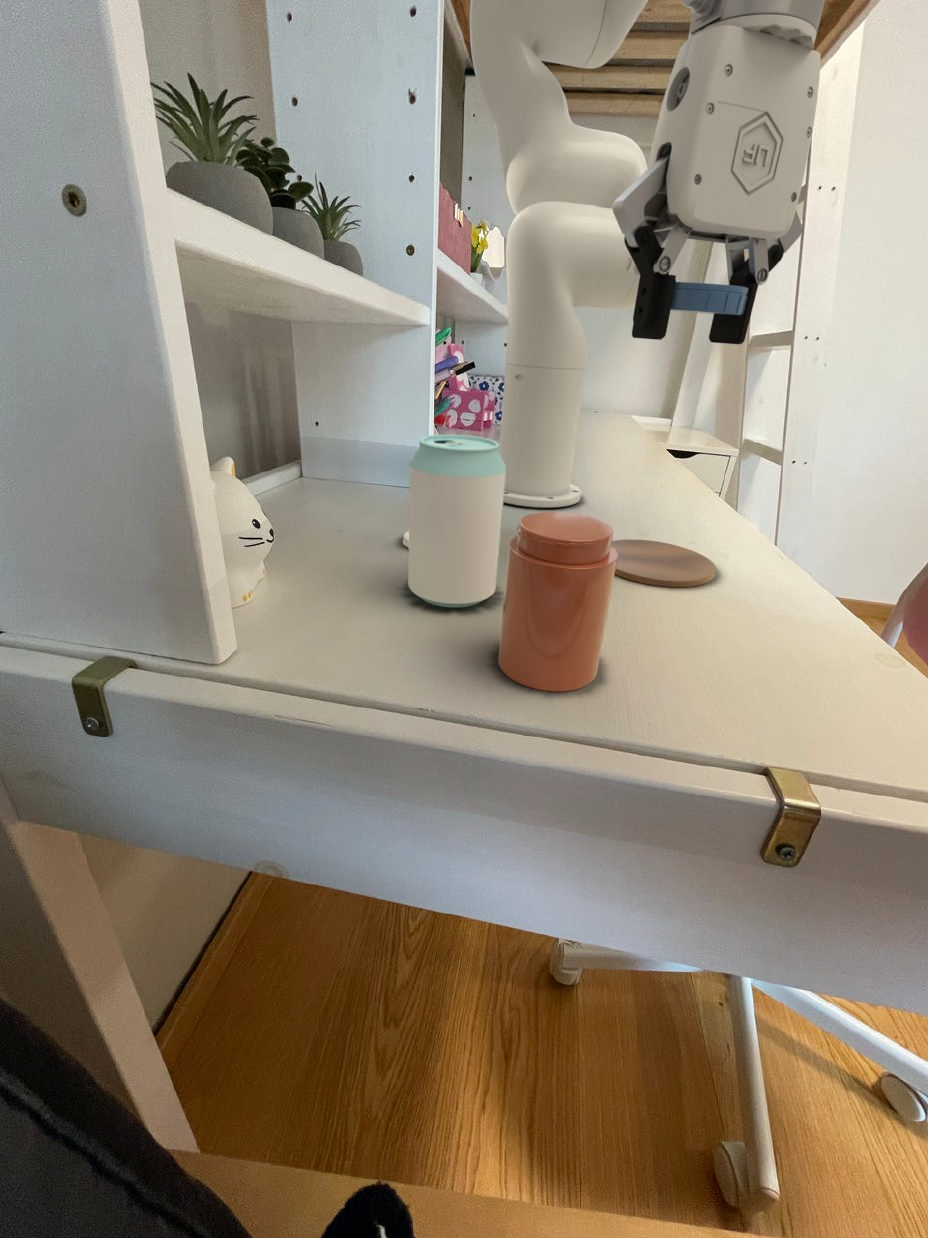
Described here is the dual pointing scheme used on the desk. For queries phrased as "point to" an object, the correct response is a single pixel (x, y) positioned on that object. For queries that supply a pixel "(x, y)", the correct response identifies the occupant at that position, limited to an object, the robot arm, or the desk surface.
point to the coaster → (661, 564)
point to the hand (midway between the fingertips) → (687, 338)
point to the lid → (709, 298)
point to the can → (455, 519)
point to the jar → (556, 600)
